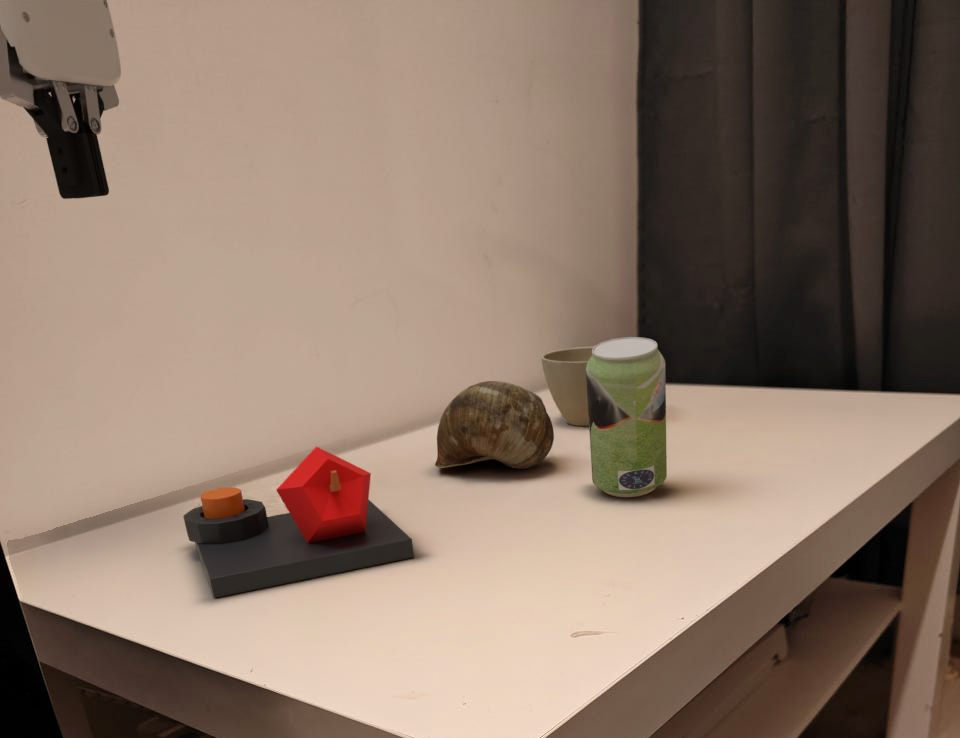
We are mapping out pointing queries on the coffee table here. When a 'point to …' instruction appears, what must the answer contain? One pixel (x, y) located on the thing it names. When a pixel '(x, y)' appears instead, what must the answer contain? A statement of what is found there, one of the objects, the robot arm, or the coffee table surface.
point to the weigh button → (222, 502)
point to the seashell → (494, 427)
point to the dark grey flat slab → (285, 548)
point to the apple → (326, 496)
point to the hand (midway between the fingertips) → (85, 196)
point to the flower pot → (568, 382)
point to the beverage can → (627, 416)
